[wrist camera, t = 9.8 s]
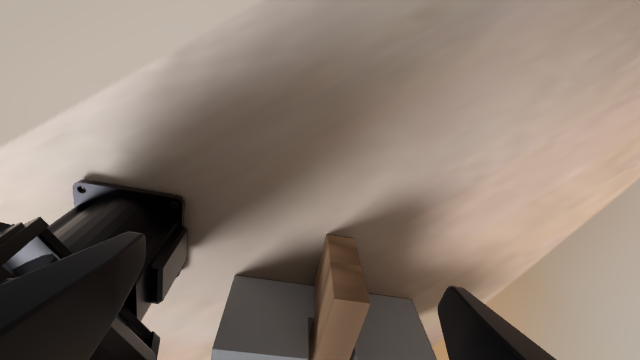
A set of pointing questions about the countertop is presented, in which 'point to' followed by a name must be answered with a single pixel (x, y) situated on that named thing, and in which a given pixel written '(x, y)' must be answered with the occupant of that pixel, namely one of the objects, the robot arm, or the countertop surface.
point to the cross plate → (338, 301)
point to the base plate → (296, 320)
